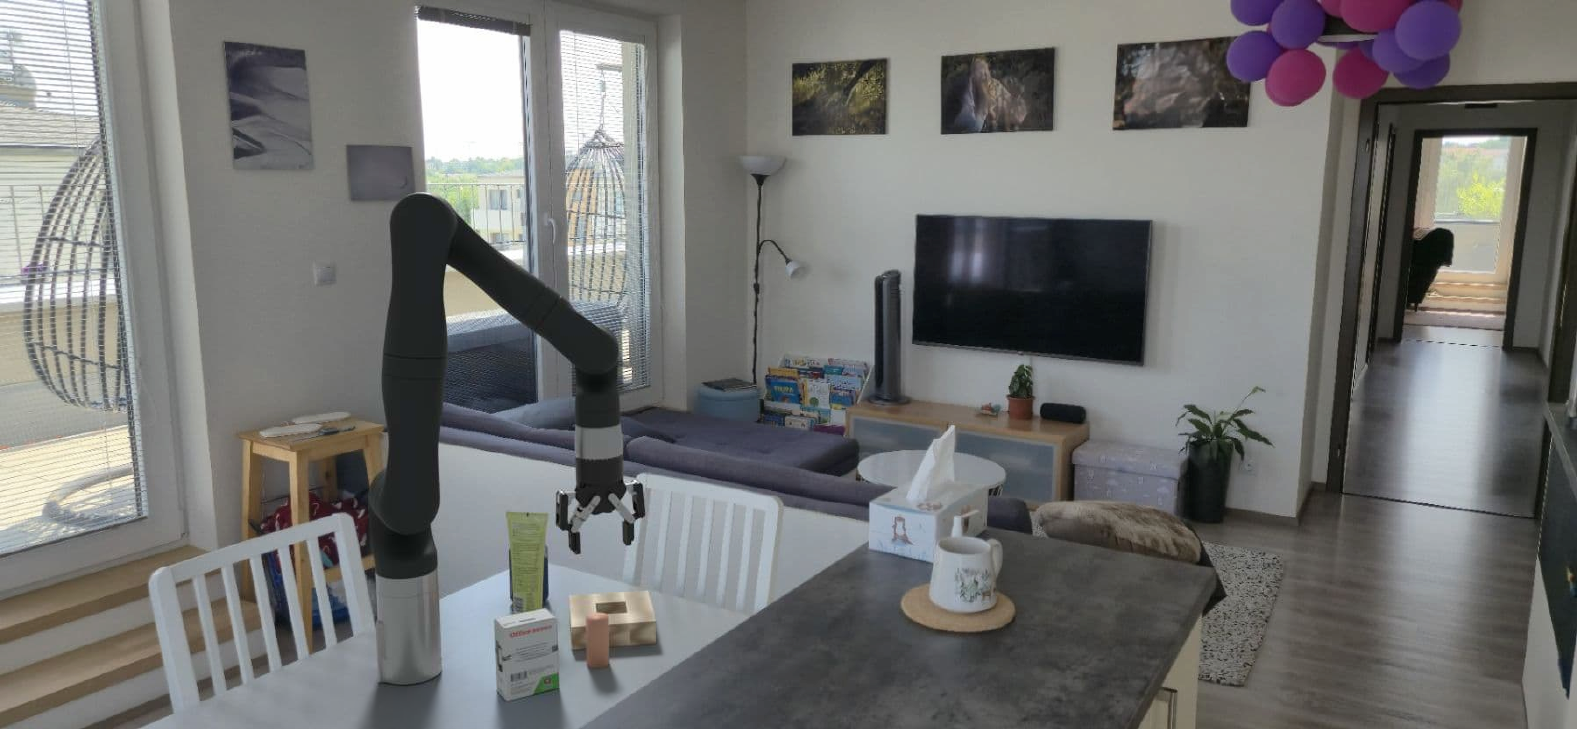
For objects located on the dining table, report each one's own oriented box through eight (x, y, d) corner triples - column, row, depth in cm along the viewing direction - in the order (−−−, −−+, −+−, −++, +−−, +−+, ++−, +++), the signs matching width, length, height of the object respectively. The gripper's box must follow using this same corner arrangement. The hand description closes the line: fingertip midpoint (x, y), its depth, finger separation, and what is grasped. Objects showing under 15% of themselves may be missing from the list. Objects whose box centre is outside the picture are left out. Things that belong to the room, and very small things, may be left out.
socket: (571, 649, 185) (571, 627, 184) (569, 616, 198) (569, 595, 198) (655, 643, 188) (655, 621, 187) (648, 611, 201) (648, 590, 201)
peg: (587, 669, 178) (586, 622, 177) (586, 659, 181) (585, 613, 180) (609, 667, 179) (609, 620, 177) (608, 658, 182) (607, 611, 181)
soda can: (555, 597, 207) (553, 535, 205) (538, 611, 200) (537, 548, 198) (520, 593, 209) (519, 532, 207) (503, 607, 202) (501, 544, 200)
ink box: (548, 676, 175) (547, 605, 173) (560, 689, 171) (559, 616, 169) (495, 689, 171) (492, 616, 169) (505, 702, 167) (503, 628, 165)
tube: (537, 608, 202) (535, 505, 198) (550, 617, 198) (548, 512, 194) (508, 616, 198) (505, 510, 195) (521, 625, 194) (518, 518, 191)
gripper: (632, 440, 183) (635, 535, 186) (548, 451, 176) (551, 549, 179) (649, 451, 177) (651, 548, 179) (562, 462, 170) (566, 563, 173)
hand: (601, 548), depth 179 cm, fingers open, 8 cm apart
